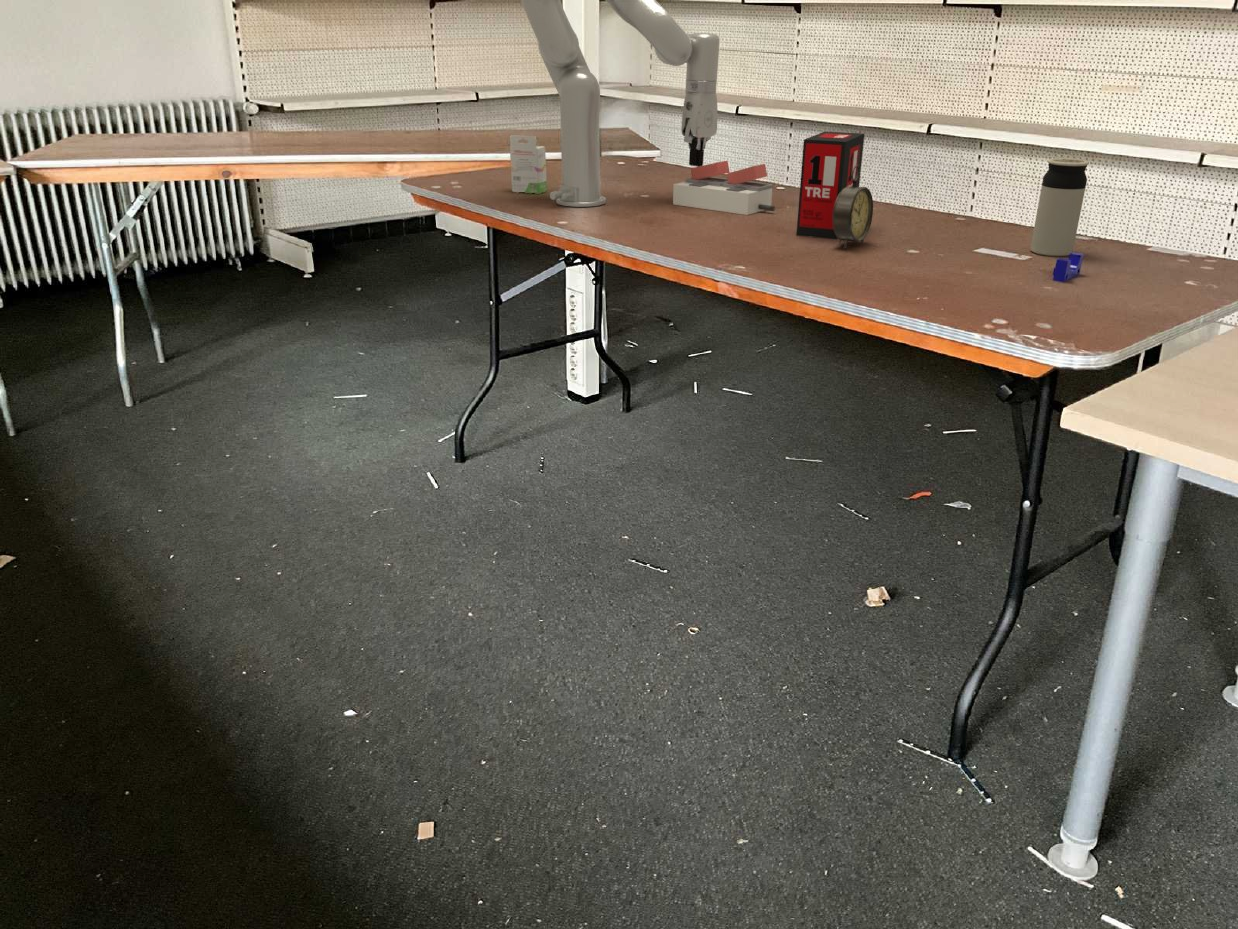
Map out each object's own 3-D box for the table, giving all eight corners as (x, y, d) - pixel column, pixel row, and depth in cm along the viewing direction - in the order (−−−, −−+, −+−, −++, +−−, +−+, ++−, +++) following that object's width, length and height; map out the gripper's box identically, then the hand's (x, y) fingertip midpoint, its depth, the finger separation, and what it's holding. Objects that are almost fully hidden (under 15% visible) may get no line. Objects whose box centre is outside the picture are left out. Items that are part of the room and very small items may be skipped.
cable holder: (1060, 272, 184) (1064, 250, 182) (1079, 275, 181) (1083, 253, 180) (1044, 279, 178) (1048, 258, 177) (1063, 283, 176) (1068, 261, 174)
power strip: (761, 217, 231) (763, 191, 228) (673, 204, 245) (673, 180, 243) (785, 210, 238) (786, 185, 236) (697, 198, 253) (698, 175, 251)
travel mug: (1076, 257, 193) (1095, 163, 186) (1034, 256, 194) (1051, 162, 187) (1066, 249, 200) (1084, 158, 193) (1026, 247, 202) (1042, 157, 194)
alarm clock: (848, 251, 198) (857, 169, 191) (824, 248, 201) (832, 166, 194) (871, 242, 206) (880, 162, 199) (847, 239, 209) (855, 160, 202)
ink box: (547, 191, 262) (546, 134, 256) (538, 194, 258) (537, 136, 252) (520, 189, 266) (517, 132, 260) (510, 192, 262) (508, 134, 255)
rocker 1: (718, 175, 240) (716, 162, 239) (692, 180, 245) (690, 167, 244) (729, 172, 244) (727, 159, 243) (703, 177, 249) (701, 165, 248)
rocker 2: (756, 178, 234) (753, 165, 233) (729, 185, 239) (726, 173, 238) (767, 176, 237) (764, 163, 236) (740, 183, 243) (737, 170, 242)
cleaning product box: (836, 239, 209) (845, 141, 200) (796, 235, 212) (803, 139, 204) (855, 225, 222) (864, 133, 214) (817, 221, 226) (824, 131, 217)
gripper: (697, 90, 231) (692, 170, 239) (729, 88, 242) (723, 164, 250) (671, 87, 235) (667, 166, 243) (704, 85, 246) (699, 161, 254)
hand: (695, 165), depth 246 cm, fingers closed
